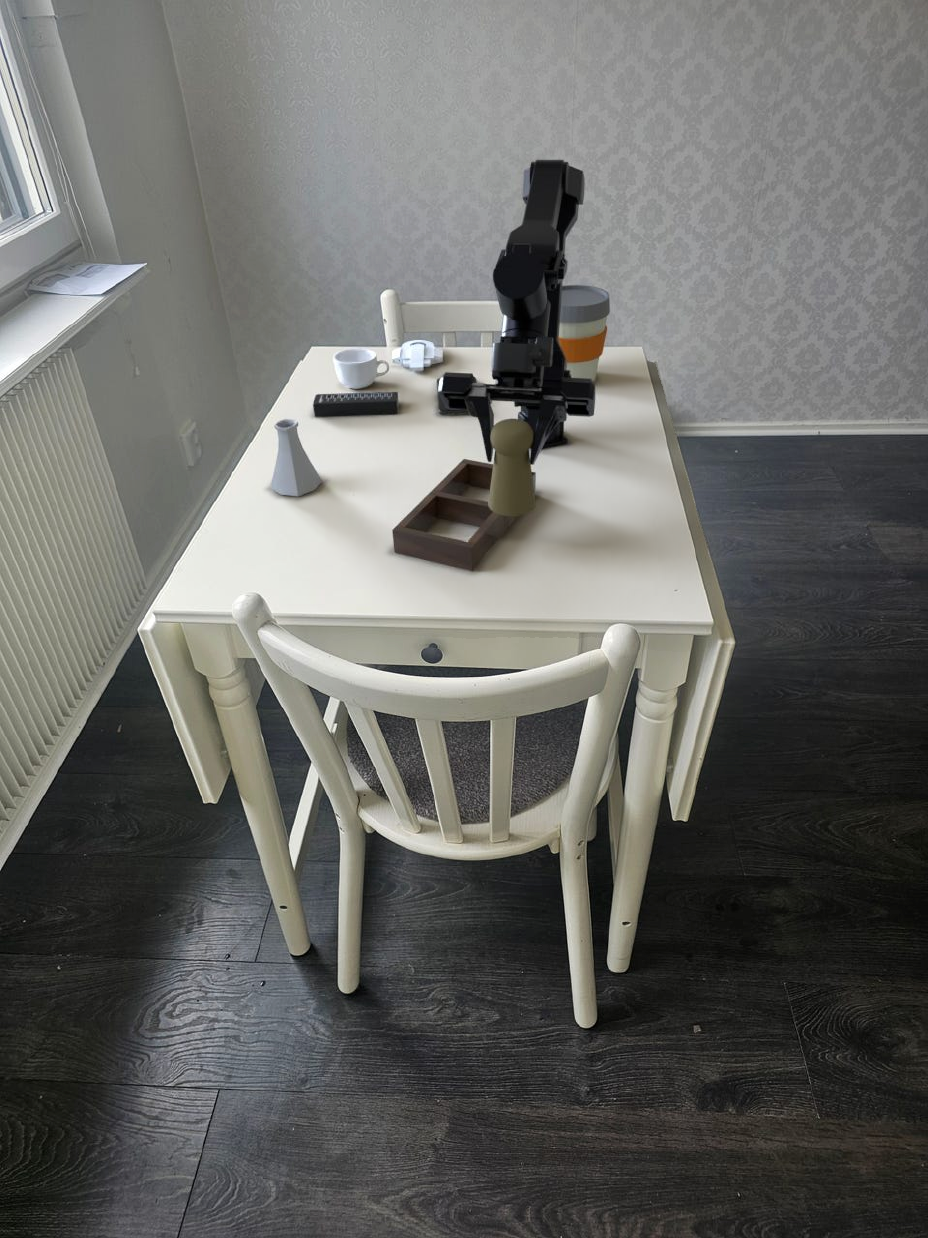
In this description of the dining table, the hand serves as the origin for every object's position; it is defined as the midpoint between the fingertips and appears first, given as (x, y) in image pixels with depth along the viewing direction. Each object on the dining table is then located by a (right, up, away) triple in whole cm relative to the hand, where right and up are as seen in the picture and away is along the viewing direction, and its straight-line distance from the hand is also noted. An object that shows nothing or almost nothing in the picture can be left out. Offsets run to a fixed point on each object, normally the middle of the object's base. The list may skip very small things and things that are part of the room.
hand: (510, 462), depth 103 cm
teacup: (-24, +24, +55) cm, 65 cm away
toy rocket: (-15, +32, +64) cm, 73 cm away
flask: (-31, +1, +25) cm, 39 cm away
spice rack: (-5, -6, +15) cm, 17 cm away
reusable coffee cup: (+14, +25, +54) cm, 62 cm away
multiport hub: (-24, +17, +46) cm, 55 cm away
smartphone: (-7, +20, +49) cm, 53 cm away
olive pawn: (+1, -5, +5) cm, 7 cm away
